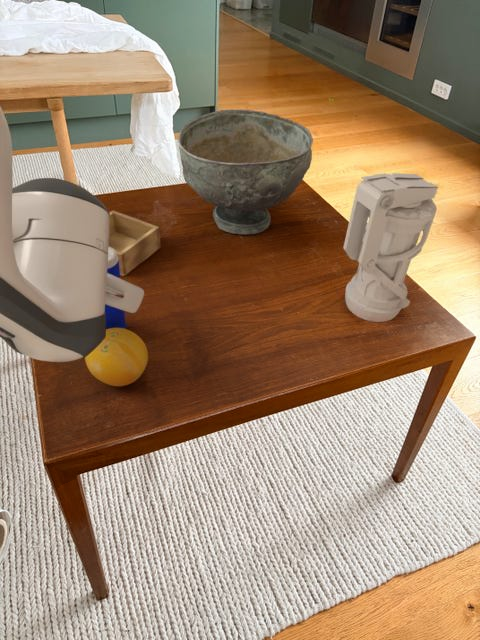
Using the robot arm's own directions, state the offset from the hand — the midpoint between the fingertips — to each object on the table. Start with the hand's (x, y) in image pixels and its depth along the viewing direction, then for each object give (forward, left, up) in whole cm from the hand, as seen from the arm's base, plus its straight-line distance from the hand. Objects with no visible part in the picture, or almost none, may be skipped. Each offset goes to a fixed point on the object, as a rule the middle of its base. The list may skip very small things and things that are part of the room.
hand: (106, 284), depth 75 cm
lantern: (+43, -10, -10) cm, 46 cm away
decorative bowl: (+34, +25, -10) cm, 43 cm away
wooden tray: (+6, +22, -9) cm, 25 cm away
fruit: (-2, -10, -10) cm, 14 cm away
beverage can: (-1, 0, -9) cm, 9 cm away
